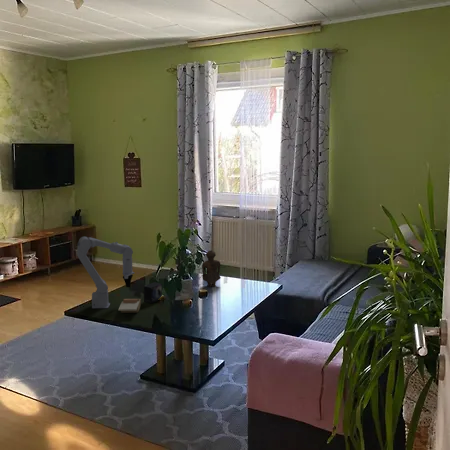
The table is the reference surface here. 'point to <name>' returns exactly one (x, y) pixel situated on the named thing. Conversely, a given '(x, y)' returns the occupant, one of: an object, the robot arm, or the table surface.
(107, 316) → the table surface
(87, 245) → the robot arm
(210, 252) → the clay figurine
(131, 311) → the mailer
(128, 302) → the lid
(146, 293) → the small box
